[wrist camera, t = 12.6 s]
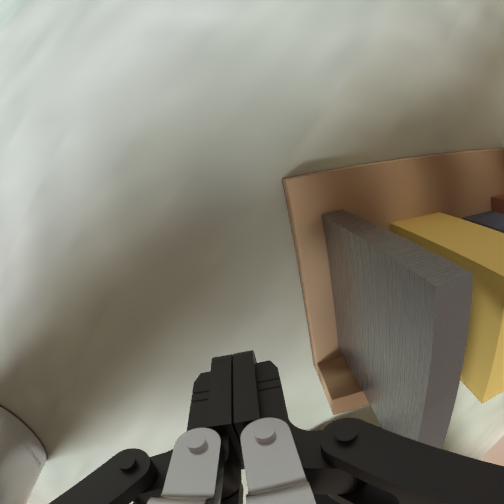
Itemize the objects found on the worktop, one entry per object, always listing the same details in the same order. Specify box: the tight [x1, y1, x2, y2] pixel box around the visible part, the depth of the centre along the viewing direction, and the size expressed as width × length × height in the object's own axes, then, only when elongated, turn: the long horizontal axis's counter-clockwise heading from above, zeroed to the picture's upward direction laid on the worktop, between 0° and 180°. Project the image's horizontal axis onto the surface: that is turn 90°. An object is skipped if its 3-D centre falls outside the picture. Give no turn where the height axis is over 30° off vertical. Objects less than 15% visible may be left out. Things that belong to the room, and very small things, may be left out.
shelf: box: [282, 148, 504, 415], centre depth 13 cm, size 17×12×12 cm
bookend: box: [321, 210, 473, 449], centre depth 12 cm, size 1×8×10 cm, turn 12°
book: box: [390, 212, 504, 403], centre depth 13 cm, size 4×6×9 cm, turn 11°
